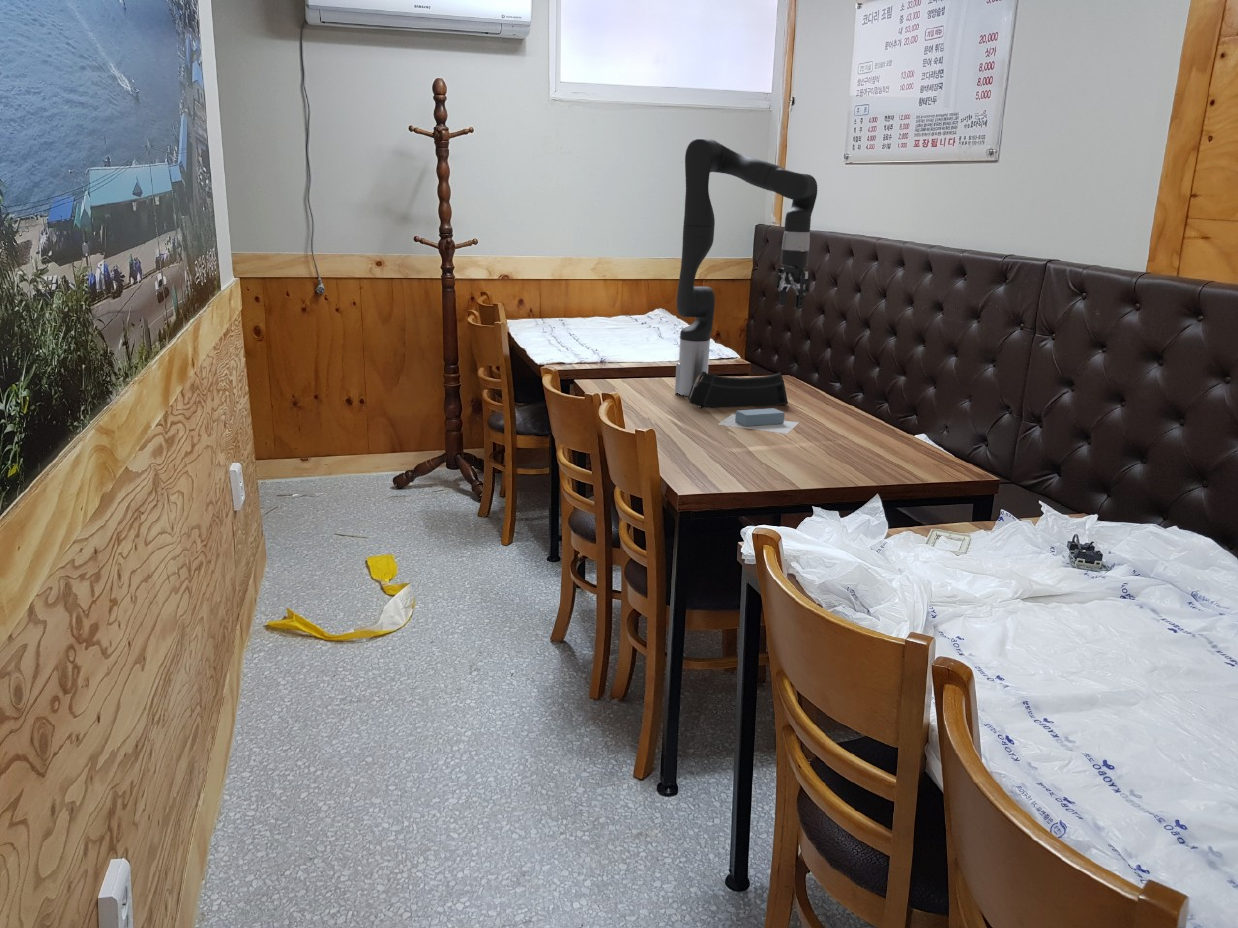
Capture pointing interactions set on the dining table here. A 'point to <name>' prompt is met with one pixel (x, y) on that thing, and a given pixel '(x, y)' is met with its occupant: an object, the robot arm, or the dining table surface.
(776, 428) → the mat
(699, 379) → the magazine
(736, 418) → the placard
